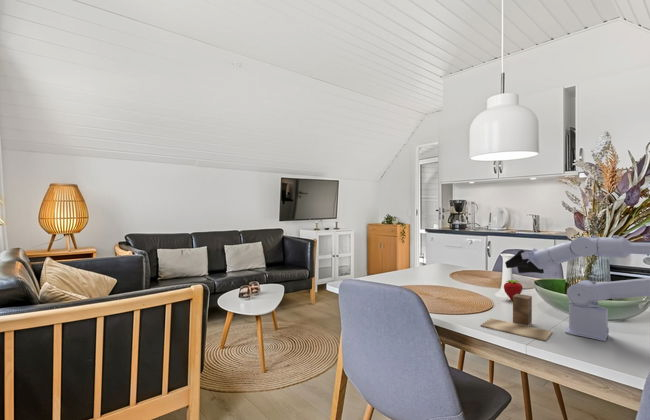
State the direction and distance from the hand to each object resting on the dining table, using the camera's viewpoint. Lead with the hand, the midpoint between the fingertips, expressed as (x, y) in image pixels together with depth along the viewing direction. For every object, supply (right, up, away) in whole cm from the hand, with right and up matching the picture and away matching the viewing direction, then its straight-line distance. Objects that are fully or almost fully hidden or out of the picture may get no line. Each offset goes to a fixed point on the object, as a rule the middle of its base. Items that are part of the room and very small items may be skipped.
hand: (512, 267), depth 119 cm
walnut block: (0, -17, -6) cm, 19 cm away
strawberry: (+12, -17, +20) cm, 29 cm away
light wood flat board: (-6, -17, -12) cm, 22 cm away
